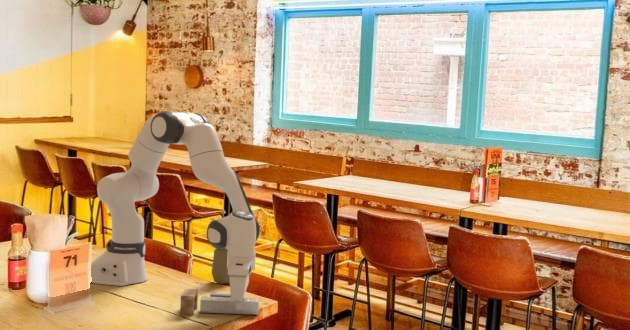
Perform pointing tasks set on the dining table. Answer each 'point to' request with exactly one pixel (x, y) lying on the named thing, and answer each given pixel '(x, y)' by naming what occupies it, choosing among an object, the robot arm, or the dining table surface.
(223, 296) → the cradle
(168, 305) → the dining table surface
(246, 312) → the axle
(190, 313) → the brown block
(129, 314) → the dining table surface
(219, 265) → the squeeze bottle
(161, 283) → the dining table surface
